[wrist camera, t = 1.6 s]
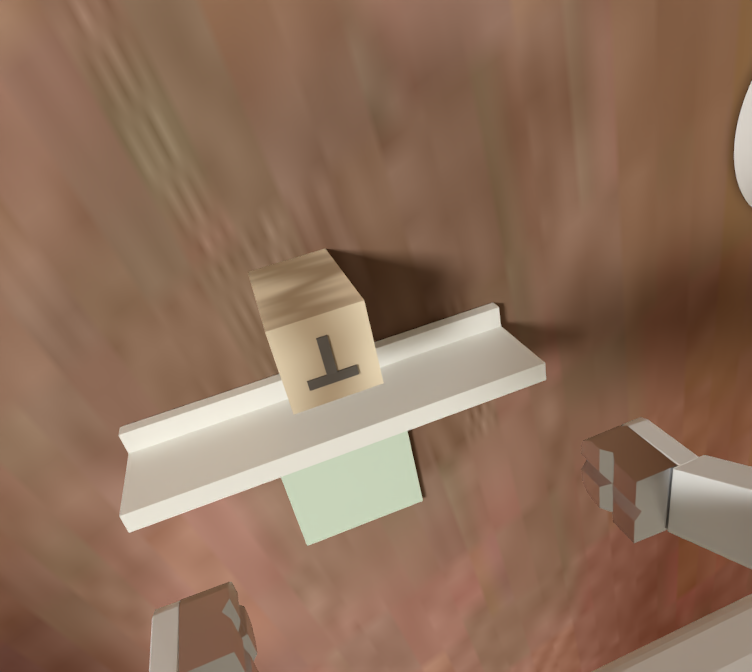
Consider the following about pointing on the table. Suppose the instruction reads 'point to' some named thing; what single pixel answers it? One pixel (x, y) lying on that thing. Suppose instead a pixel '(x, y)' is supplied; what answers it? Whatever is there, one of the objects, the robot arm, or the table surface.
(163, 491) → the white shelf
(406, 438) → the sage mat
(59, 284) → the table surface
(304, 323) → the birch block
